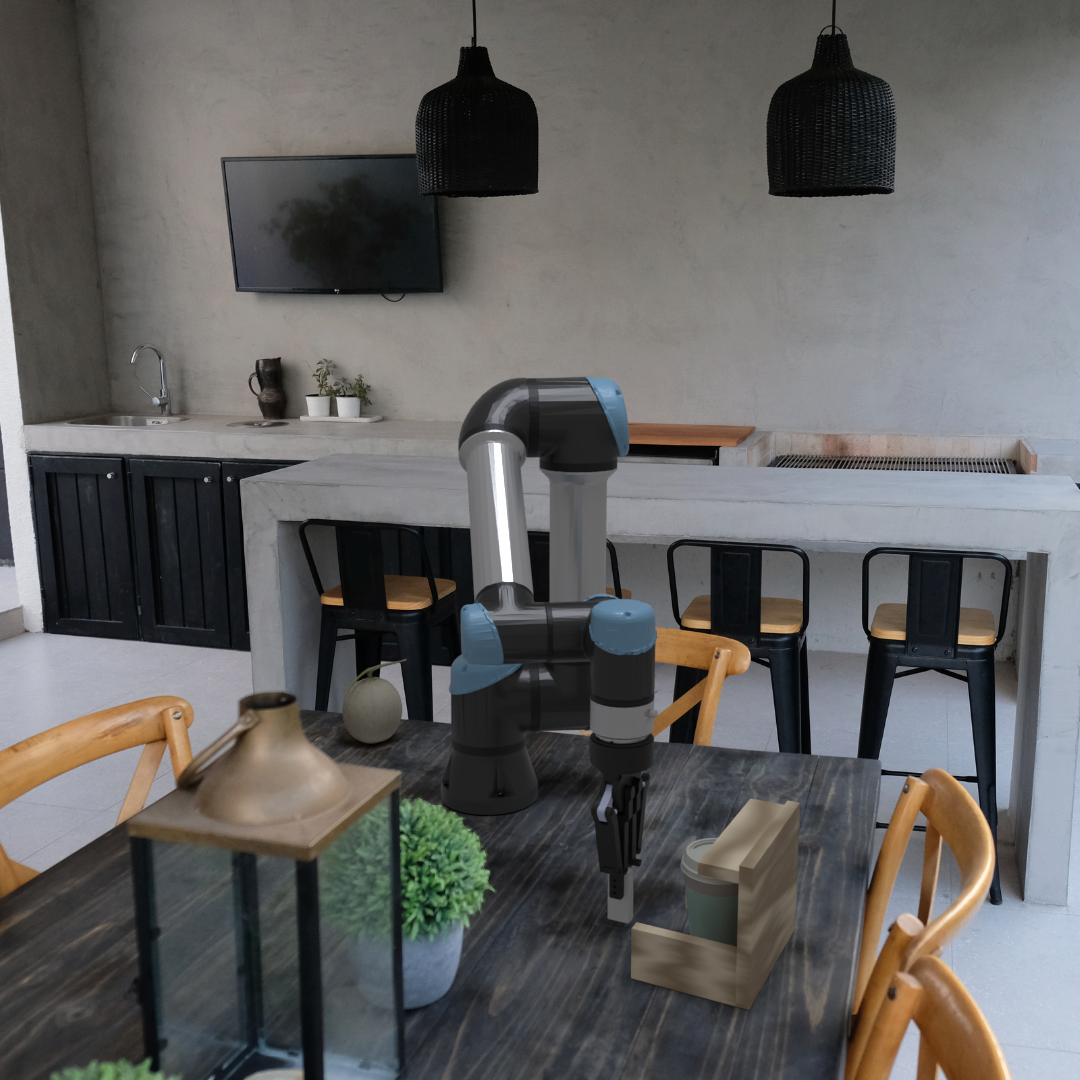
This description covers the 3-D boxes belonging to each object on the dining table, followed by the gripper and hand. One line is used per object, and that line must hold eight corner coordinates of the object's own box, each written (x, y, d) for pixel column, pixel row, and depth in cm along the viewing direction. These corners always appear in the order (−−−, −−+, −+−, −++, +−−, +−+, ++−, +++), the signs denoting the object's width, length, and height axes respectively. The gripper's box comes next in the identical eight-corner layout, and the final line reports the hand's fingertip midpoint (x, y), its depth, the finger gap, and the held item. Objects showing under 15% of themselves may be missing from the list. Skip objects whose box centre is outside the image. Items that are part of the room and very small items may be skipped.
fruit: (327, 743, 199) (324, 662, 197) (376, 727, 208) (373, 648, 206) (366, 757, 193) (363, 673, 190) (415, 739, 201) (413, 658, 199)
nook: (630, 978, 125) (632, 843, 123) (689, 903, 142) (691, 783, 139) (749, 1010, 119) (753, 868, 116) (795, 928, 136) (800, 802, 133)
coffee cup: (759, 936, 134) (762, 842, 132) (745, 973, 126) (748, 873, 124) (688, 924, 137) (690, 831, 135) (671, 959, 129) (672, 861, 127)
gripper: (631, 756, 125) (628, 951, 129) (671, 720, 136) (668, 901, 140) (569, 745, 128) (569, 936, 132) (613, 711, 139) (612, 888, 144)
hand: (620, 918), depth 136 cm, fingers closed
